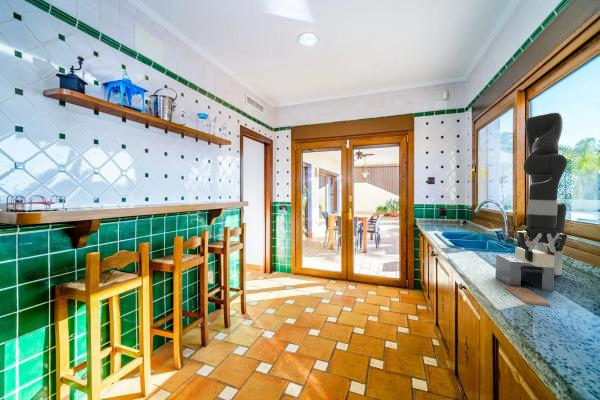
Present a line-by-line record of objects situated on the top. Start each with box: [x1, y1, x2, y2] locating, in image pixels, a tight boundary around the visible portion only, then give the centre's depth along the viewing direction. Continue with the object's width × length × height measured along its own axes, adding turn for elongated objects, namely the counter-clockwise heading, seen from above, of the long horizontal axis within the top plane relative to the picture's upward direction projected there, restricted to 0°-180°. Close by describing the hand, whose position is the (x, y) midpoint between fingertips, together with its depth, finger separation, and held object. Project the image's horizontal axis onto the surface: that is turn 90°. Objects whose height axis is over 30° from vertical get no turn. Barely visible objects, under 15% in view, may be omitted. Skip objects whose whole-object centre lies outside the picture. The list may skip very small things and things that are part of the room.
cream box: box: [514, 246, 555, 268], centre depth 92 cm, size 12×5×4 cm, turn 168°
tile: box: [504, 285, 552, 307], centre depth 94 cm, size 14×7×1 cm, turn 165°
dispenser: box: [495, 253, 555, 292], centre depth 106 cm, size 13×14×10 cm
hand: (538, 261), depth 89 cm, fingers closed on cream box, 5 cm apart
